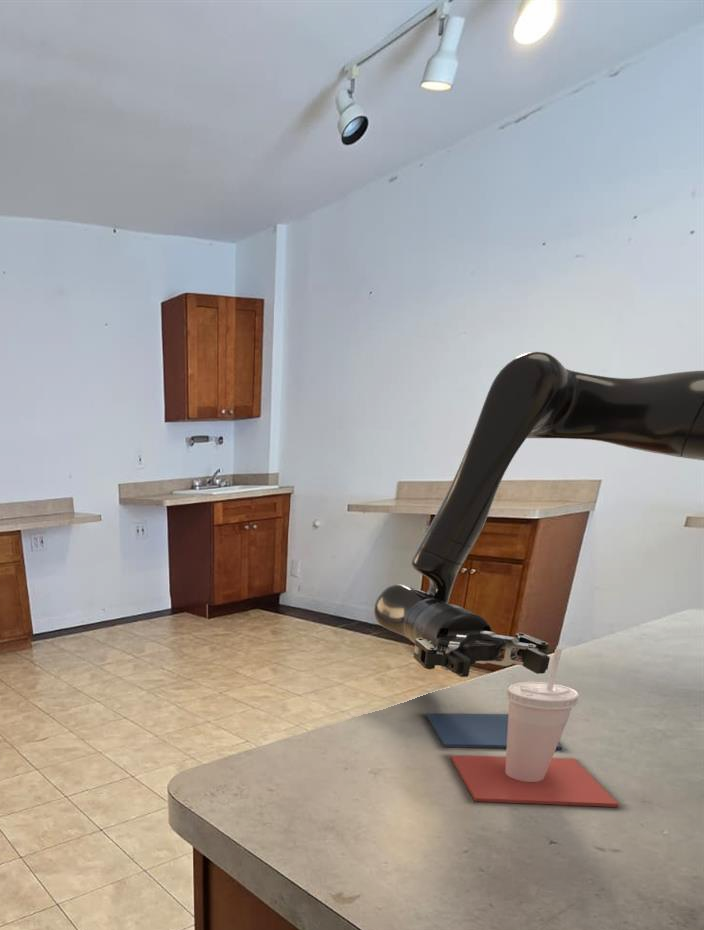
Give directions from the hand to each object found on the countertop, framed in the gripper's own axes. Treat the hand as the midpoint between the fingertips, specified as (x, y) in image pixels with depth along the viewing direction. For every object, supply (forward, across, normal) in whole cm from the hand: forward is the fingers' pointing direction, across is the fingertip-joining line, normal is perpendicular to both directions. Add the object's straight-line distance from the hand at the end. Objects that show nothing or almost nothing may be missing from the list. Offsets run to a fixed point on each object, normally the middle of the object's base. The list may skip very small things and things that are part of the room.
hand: (505, 667), depth 73 cm
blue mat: (-5, +2, +10) cm, 12 cm away
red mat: (+9, 0, +10) cm, 14 cm away
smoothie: (+8, 0, +10) cm, 13 cm away
